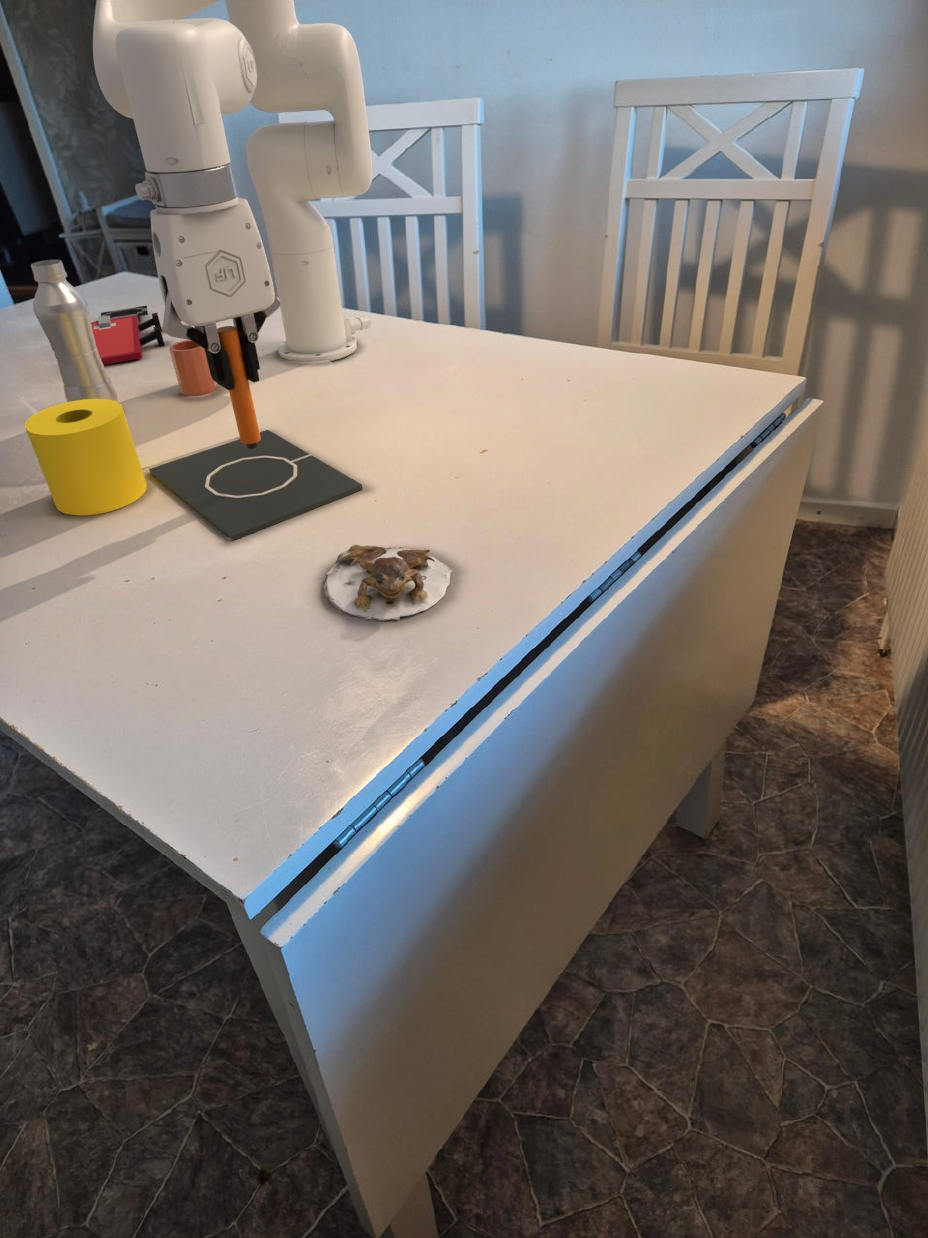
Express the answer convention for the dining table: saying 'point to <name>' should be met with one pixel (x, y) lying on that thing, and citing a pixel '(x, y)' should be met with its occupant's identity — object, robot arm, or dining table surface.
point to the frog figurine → (385, 582)
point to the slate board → (253, 483)
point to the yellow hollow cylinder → (87, 456)
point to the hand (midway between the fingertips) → (237, 381)
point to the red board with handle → (124, 334)
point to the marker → (240, 388)
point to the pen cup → (191, 368)
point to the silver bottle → (70, 334)
